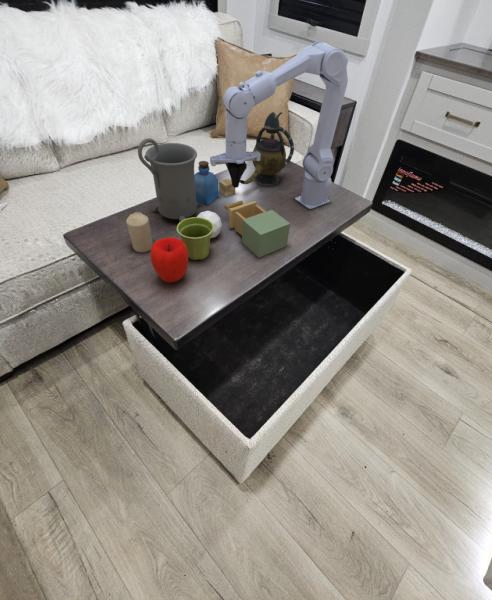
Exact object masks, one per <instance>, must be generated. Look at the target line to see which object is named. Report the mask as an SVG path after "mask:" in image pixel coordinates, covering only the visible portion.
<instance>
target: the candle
mask: <svg viewBox="0 0 492 600" xmlns="http://www.w3.org/2000/svg"><path fill="white" fill-rule="evenodd" d="M125 221H126V226H127V230H128V233H129V237H130V242H131V245H132V249H133V250H134V251H135V252H137V253H146V252H149V251H151V248H152V245H153V244H154V241H153V236H152V230H151V226H150V219H149V217H148V216H147V215H145V214H144V213H142V212H139V211H135V212H133V213H130V214H129V215H128V217H127V218H126V220H125Z"/></svg>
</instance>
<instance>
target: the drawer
mask: <svg viewBox="0 0 492 600" xmlns="http://www.w3.org/2000/svg"><path fill="white" fill-rule="evenodd" d="M224 209H225V211H228V227H229V228H230V229H233V228H234V230H235V231H236V232H237V233H238V234H239V235H240V236H242V229H243V220H244V219H247V218H250V217H253V216H256V215H258V214H261V213H264V212H267V211H266V210H265V209H264V208H262V207H261V206H260V205H259V204H257V201H255V200H252V201H248V202H246V203H244V201H243V200H238V201H236V202H235V201H234V202H233V203H229V204H226V205H224Z"/></svg>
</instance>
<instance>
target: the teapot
mask: <svg viewBox="0 0 492 600" xmlns="http://www.w3.org/2000/svg"><path fill="white" fill-rule="evenodd" d="M282 114H284V112H282V111H281V112H279V113H278V114H276V113H275V111H272V112H270V113H269V114H268V116H267V117H266V118H265V121H264V124H263V127H262V128H261V129H260V130H259V131H258V133H257V136H256V139H255V145H254V147H253V150H252V152H259V153H260V154H261V157H260V161H256V160H253V161H251V162H252V165H253V166H254V169H255V170H254V172H253V174H251V176H250V177H248V178H247V179H246V180H243V179H240V183H239V184H241V185H249V184H251V183H253V182H254V181H255V183H257V184H258V185H260V186H261V185H262V186H266V187H273V186H276V185H278V184H279V182H280V178H279V177H278V176H277V174H278V173H280V172H281V171H282V170H283V169H285V167H286V166H287V165H289V163H290V162H291V160H292V158H293V156H294V153H295V144H294V140H293V138H292V136H291V134H290V133H289V132H288V131H287V129H285V128H283V126H280V120H279V117H280V116H281V115H282ZM264 132H266V133H267V134H268V135H269V134H270V138H265V139H262V136H263V133H264ZM275 134H277V137H278V140H279V141H278V140H276V139H275ZM282 134H283V135H284V136H285V137H286V139H287V141H288V143H289V149H290V150H289V154H288V155H287V151H286V148H285V143H284V141H285V140H284V138H283V135H282Z"/></svg>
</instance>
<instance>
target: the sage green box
mask: <svg viewBox="0 0 492 600" xmlns="http://www.w3.org/2000/svg"><path fill="white" fill-rule="evenodd" d="M290 228H291V223H290V222H289V221H287V219H285V218H283V216H281V215H280V214H279V213H278V212H275V210H273V209H270V210H267V211H266V212H264V213H261V214H258V215H256V216H253V217H250V218H247V219H244V220H243V229H242V235H241V244H243V245H244V246H245V247H246V248H247V249H248V250H249V251H250V252H251V253H253V255H255V256H256V257H257V258H258V259H260V258H262V257H264V256H266V255H270V254H271V253H273V252H276V251H278V250H281V249H283V248H286V247H288V240H289V234H290Z"/></svg>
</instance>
